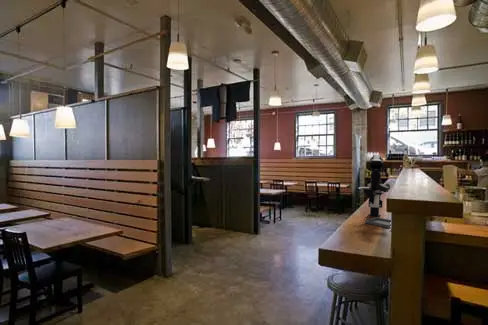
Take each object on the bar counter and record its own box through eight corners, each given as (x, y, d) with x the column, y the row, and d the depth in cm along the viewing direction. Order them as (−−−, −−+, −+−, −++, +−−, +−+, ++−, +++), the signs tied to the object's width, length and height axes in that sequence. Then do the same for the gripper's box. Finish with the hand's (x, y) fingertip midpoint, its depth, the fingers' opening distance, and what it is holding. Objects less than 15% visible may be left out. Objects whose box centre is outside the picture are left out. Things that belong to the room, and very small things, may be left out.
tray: (376, 220, 208) (376, 217, 208) (399, 224, 197) (400, 221, 197) (365, 223, 198) (365, 220, 198) (388, 228, 187) (388, 225, 187)
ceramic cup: (372, 205, 204) (373, 193, 204) (380, 207, 201) (380, 194, 200) (368, 206, 201) (369, 194, 201) (376, 207, 197) (376, 195, 197)
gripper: (380, 181, 188) (379, 207, 189) (395, 179, 200) (394, 204, 200) (363, 179, 197) (362, 204, 197) (378, 178, 208) (377, 201, 209)
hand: (374, 203), depth 201 cm, fingers closed on ceramic cup, 5 cm apart
